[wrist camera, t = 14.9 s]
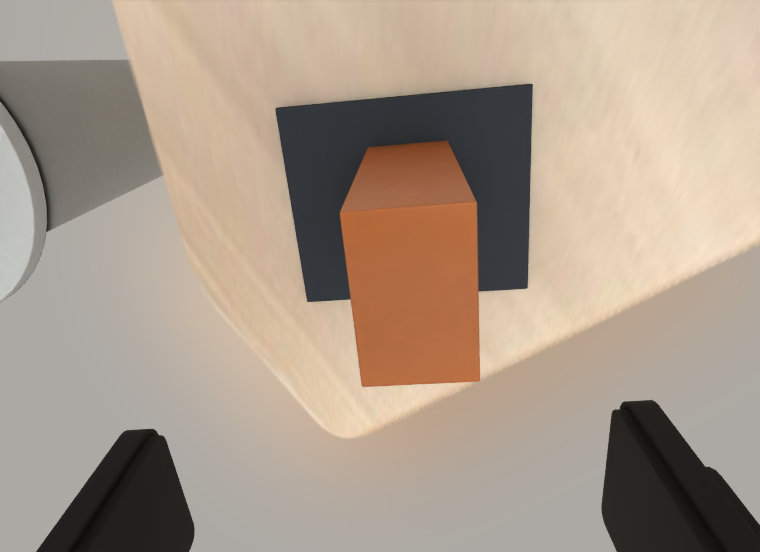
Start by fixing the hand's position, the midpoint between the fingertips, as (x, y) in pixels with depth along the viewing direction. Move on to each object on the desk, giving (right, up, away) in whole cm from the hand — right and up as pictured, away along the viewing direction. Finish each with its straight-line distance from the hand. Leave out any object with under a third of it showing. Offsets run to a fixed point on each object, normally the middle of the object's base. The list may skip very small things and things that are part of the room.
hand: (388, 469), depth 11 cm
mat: (+2, +8, +20) cm, 21 cm away
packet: (+2, +8, +19) cm, 21 cm away
